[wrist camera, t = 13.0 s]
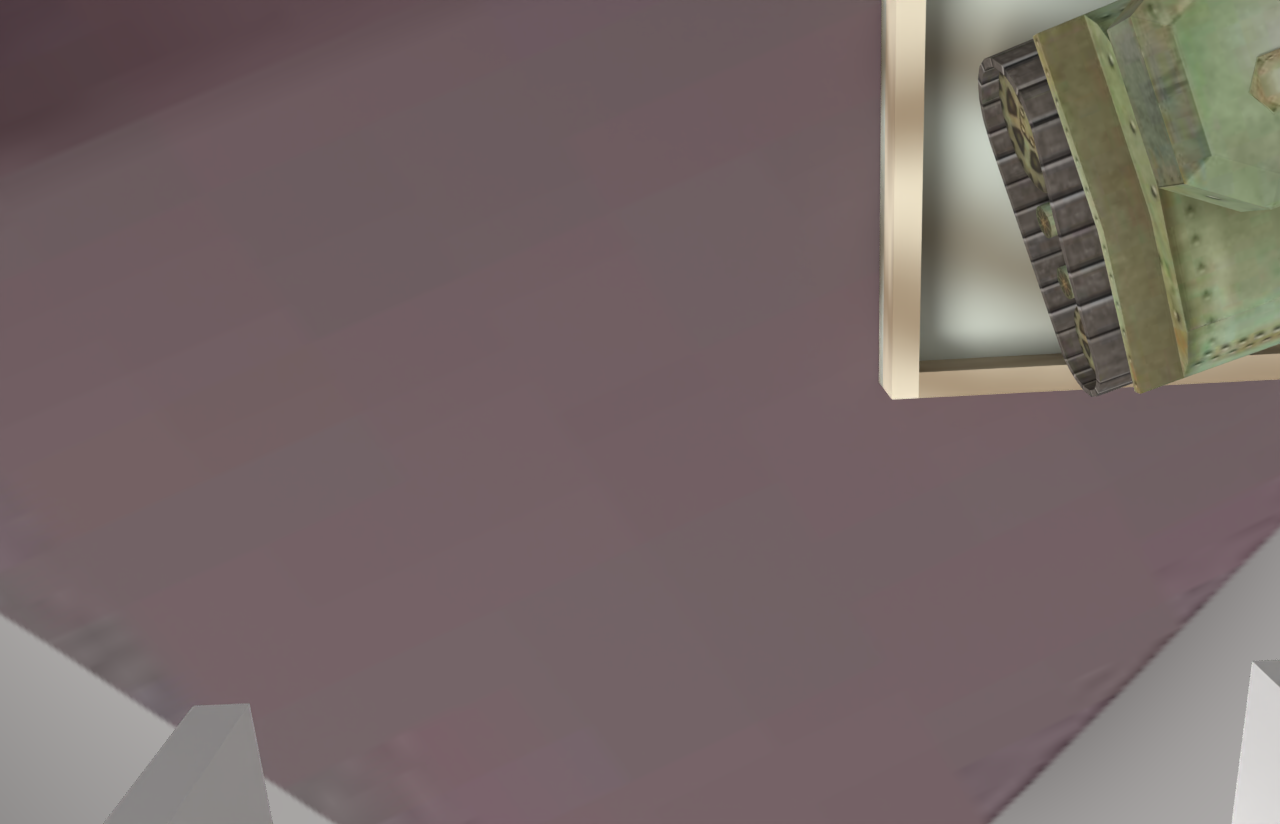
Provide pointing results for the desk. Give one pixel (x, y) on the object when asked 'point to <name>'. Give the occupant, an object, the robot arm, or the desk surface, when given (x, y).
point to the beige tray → (966, 215)
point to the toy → (1147, 182)
